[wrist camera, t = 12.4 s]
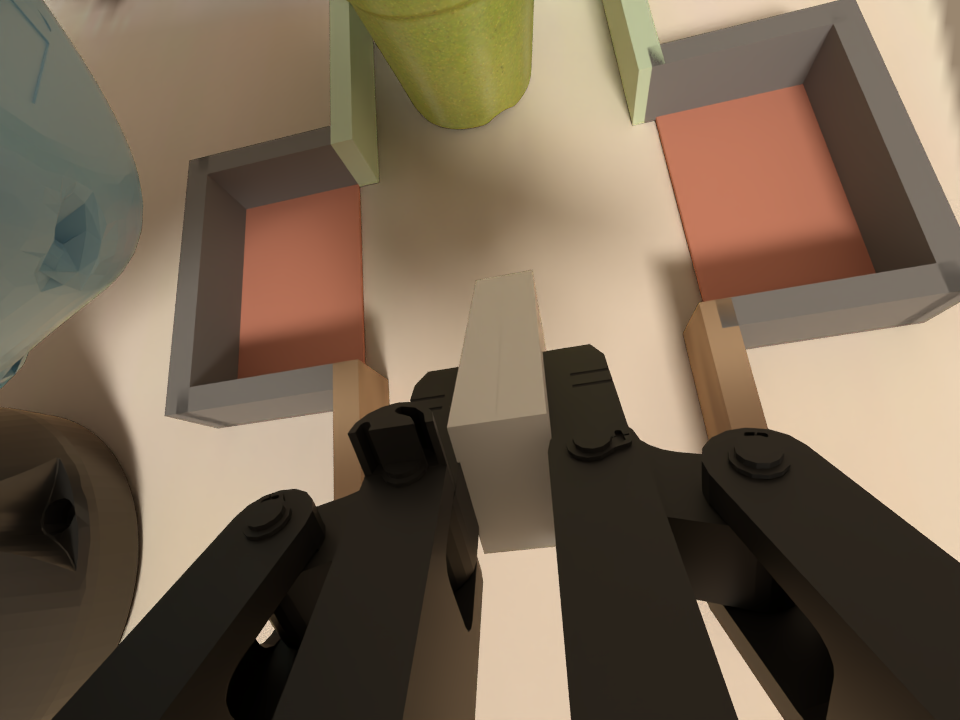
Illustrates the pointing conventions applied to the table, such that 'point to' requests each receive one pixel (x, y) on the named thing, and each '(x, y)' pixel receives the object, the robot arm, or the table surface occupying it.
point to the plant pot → (455, 54)
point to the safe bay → (357, 79)
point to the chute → (710, 354)
